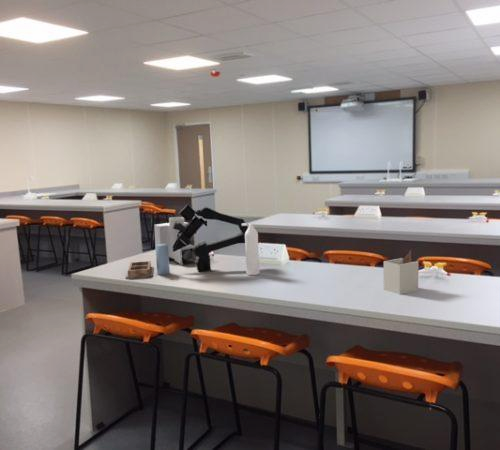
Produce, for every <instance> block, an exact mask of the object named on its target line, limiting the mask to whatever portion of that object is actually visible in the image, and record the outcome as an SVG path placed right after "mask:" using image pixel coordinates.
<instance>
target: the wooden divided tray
mask: <svg viewBox="0 0 500 450" xmlns="http://www.w3.org/2000/svg"><path fill="white" fill-rule="evenodd" d="M126 272H127V273H126V276H125V279H126V280H128V279H130V280H131V279H143V278H153V274H154V266H152V265H151V260H148V261H144V260H143V261H133V262H132V261H131V262H130V264H129V266H128V269H127V271H126Z"/></svg>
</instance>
